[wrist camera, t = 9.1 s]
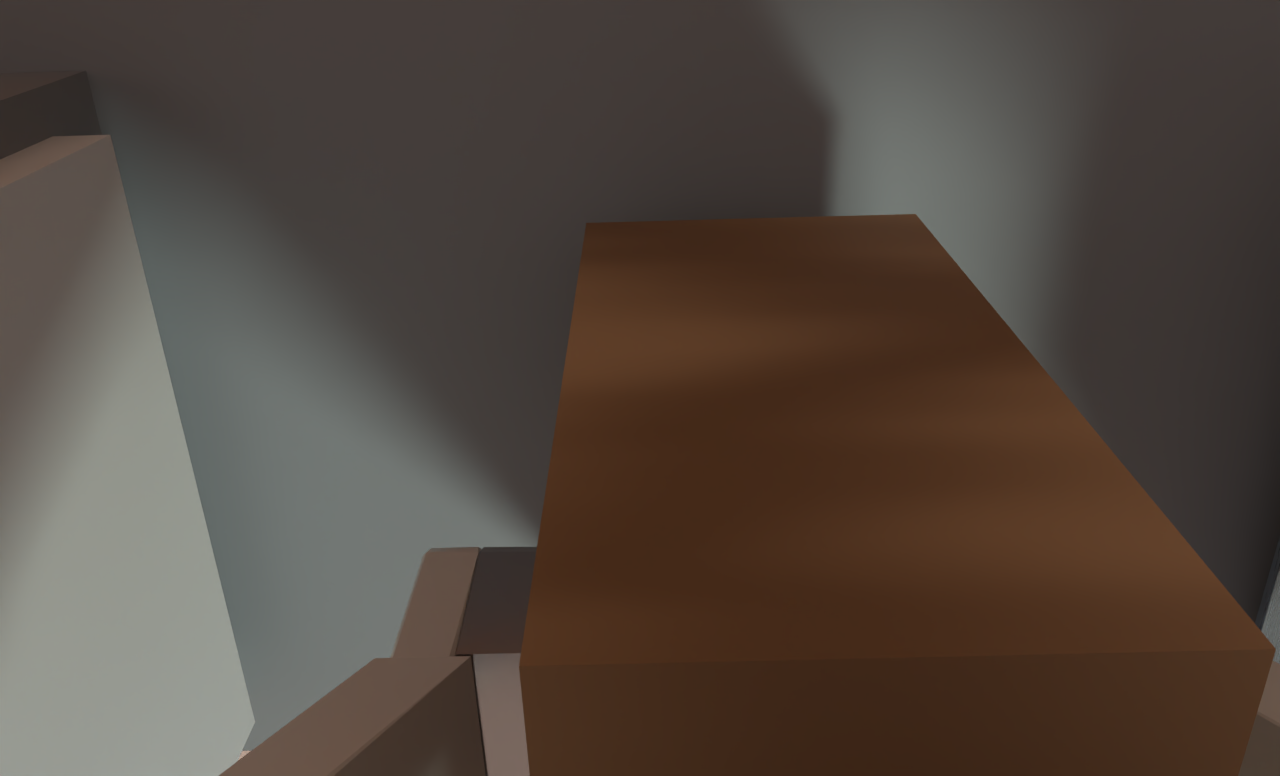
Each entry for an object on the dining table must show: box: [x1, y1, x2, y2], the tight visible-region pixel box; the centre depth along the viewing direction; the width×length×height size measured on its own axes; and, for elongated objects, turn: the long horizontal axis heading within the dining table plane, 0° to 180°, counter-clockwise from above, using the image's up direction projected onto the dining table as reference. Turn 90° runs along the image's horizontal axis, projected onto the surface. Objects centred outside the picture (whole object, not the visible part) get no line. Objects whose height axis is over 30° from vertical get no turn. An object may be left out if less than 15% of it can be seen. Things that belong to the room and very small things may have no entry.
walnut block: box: [519, 214, 1276, 776], centre depth 9 cm, size 4×6×7 cm, turn 1°
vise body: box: [0, 0, 1280, 776], centre depth 11 cm, size 22×11×9 cm, turn 92°
